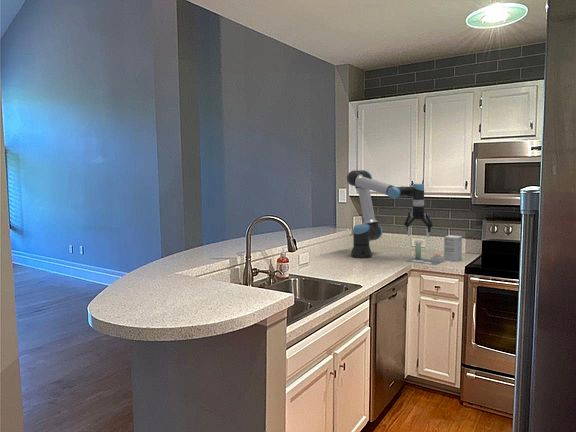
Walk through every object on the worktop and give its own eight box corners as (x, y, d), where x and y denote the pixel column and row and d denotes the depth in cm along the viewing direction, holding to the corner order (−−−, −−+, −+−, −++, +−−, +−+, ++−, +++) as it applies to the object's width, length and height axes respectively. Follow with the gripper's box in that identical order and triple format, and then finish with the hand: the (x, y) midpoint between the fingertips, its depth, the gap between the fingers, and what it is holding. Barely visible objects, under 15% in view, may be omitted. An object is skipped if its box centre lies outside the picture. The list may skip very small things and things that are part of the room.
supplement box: (448, 258, 293) (448, 235, 292) (462, 260, 288) (462, 235, 286) (443, 261, 286) (443, 236, 285) (457, 262, 280) (457, 237, 279)
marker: (414, 259, 292) (414, 242, 291) (416, 258, 294) (416, 241, 293) (419, 259, 289) (419, 242, 288) (421, 258, 292) (421, 241, 291)
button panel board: (404, 262, 285) (404, 256, 285) (414, 258, 297) (414, 252, 297) (435, 266, 270) (435, 259, 270) (445, 262, 282) (445, 256, 282)
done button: (433, 259, 282) (433, 253, 281) (435, 258, 284) (435, 252, 284) (438, 260, 279) (438, 254, 279) (440, 259, 282) (440, 253, 282)
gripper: (399, 205, 294) (399, 235, 296) (433, 206, 278) (433, 238, 280) (404, 205, 300) (404, 234, 302) (438, 206, 283) (438, 237, 285)
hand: (418, 236), depth 291 cm, fingers open, 13 cm apart
